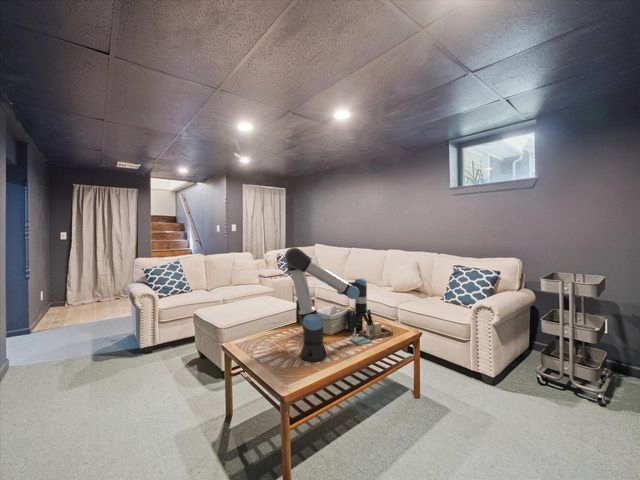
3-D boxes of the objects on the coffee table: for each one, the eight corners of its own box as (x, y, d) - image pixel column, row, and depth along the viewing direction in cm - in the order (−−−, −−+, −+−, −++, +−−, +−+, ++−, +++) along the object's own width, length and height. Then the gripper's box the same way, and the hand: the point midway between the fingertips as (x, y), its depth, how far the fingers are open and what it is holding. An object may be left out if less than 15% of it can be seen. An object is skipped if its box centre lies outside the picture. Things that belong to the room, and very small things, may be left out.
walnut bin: (368, 340, 193) (368, 336, 193) (358, 335, 203) (358, 331, 203) (393, 335, 203) (393, 331, 203) (382, 330, 212) (382, 327, 212)
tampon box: (362, 328, 218) (362, 309, 217) (362, 332, 208) (362, 312, 208) (347, 328, 218) (347, 308, 218) (347, 332, 209) (347, 312, 209)
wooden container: (317, 323, 231) (317, 296, 231) (300, 326, 224) (300, 298, 224) (309, 319, 244) (309, 293, 244) (293, 321, 237) (293, 294, 237)
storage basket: (330, 336, 201) (331, 315, 200) (312, 330, 211) (313, 310, 210) (349, 328, 219) (350, 308, 219) (332, 323, 229) (333, 304, 229)
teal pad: (359, 345, 184) (359, 343, 184) (350, 340, 193) (350, 338, 193) (371, 342, 189) (371, 340, 189) (362, 337, 198) (362, 336, 198)
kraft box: (375, 336, 199) (375, 324, 199) (370, 334, 204) (370, 322, 204) (381, 335, 202) (381, 323, 202) (376, 333, 206) (376, 321, 206)
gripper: (349, 305, 182) (349, 340, 183) (378, 301, 193) (378, 335, 193) (343, 303, 189) (343, 337, 189) (371, 299, 199) (371, 332, 200)
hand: (361, 336), depth 191 cm, fingers open, 10 cm apart
